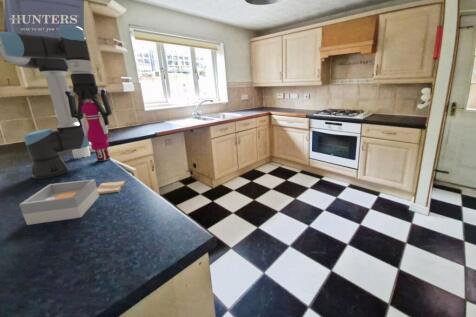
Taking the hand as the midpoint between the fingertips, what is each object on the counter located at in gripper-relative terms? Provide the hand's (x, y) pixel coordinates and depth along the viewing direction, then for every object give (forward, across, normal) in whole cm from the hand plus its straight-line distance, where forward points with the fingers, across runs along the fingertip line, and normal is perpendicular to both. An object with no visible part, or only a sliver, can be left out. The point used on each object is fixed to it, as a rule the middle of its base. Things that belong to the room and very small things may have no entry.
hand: (96, 134), depth 89 cm
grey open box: (+24, -10, -15) cm, 30 cm away
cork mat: (+24, 0, 0) cm, 24 cm away
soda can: (+24, -19, +49) cm, 58 cm away
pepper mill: (+6, 0, 0) cm, 6 cm away
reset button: (+24, -10, -15) cm, 30 cm away
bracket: (+25, -36, +72) cm, 84 cm away
